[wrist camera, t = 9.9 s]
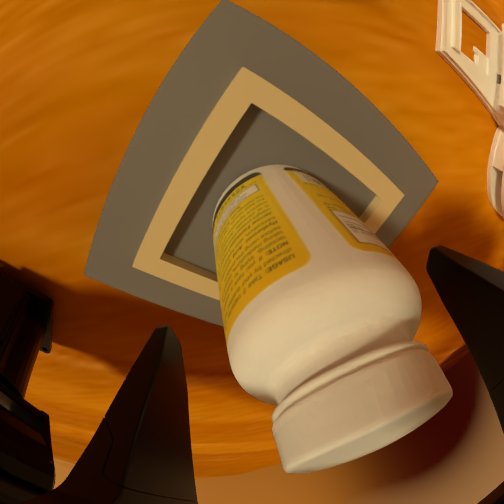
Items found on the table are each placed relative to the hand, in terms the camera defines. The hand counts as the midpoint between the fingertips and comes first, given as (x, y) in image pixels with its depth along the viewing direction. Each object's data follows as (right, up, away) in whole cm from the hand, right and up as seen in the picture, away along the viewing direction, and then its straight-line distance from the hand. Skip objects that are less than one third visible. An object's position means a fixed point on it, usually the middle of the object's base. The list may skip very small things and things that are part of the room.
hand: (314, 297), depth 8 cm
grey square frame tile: (-1, +4, +5) cm, 7 cm away
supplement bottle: (-1, +3, +4) cm, 5 cm away
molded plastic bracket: (+20, +14, +4) cm, 24 cm away
